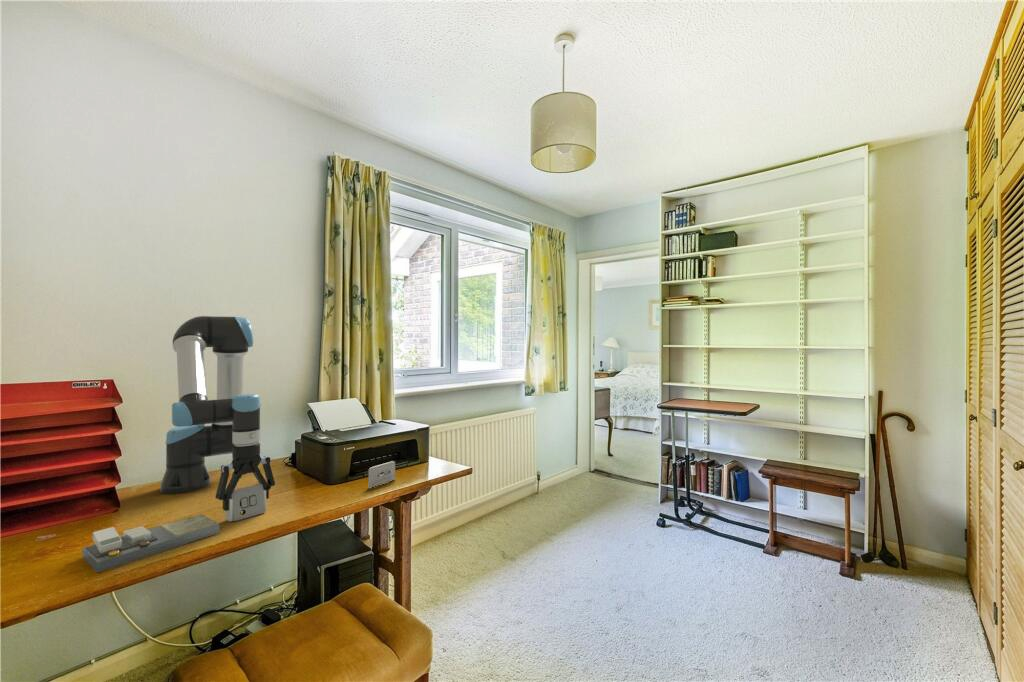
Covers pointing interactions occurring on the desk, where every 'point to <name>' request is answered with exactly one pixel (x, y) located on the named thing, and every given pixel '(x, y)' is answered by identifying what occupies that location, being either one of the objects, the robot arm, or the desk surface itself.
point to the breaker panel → (150, 541)
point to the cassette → (380, 479)
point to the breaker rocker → (107, 539)
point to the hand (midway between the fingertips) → (246, 514)
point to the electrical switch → (248, 501)
